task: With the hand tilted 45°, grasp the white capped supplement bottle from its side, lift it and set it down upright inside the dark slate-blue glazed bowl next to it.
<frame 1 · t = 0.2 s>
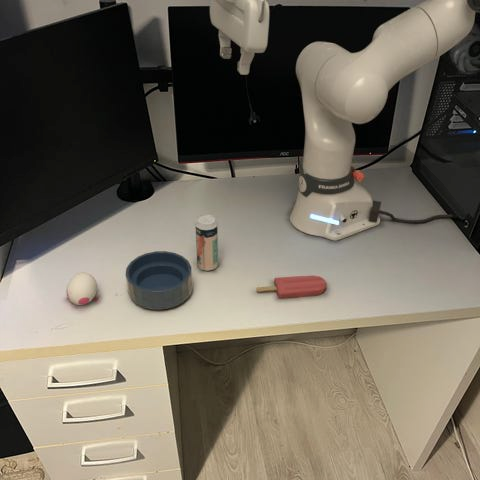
hand: (233, 65, 96), 39 cm above the table, tool pointing down, fingers open, 8 cm apart
stress ball: (81, 300, 106), on the table
bowl: (161, 291, 108), on the table
popsicle: (291, 290, 110), on the table
white capped supplement bottle: (207, 266, 115), on the table
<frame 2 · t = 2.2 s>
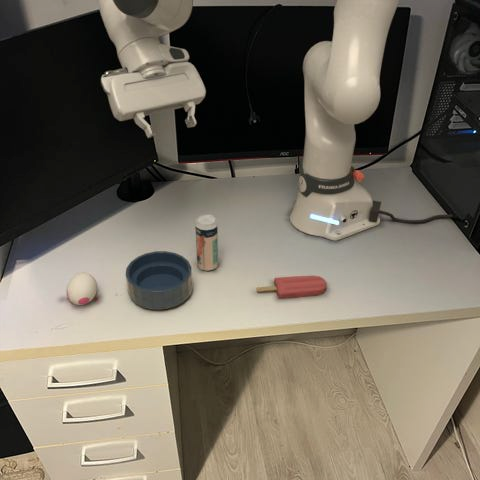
hand: (173, 131, 104), 26 cm above the table, tool tilted 45°, fingers open, 8 cm apart
nothing on the table moved.
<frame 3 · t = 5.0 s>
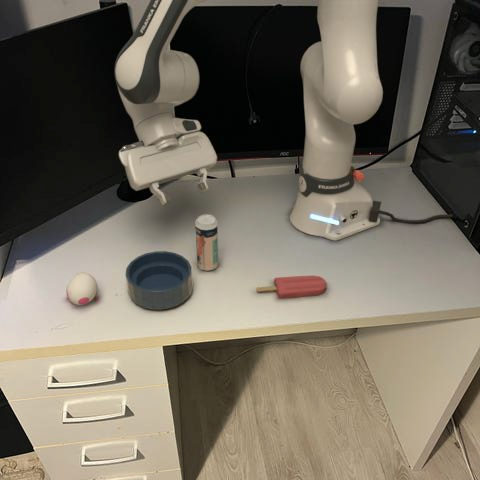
hand: (186, 197, 111), 13 cm above the table, tool tilted 45°, fingers open, 8 cm apart
nothing on the table moved.
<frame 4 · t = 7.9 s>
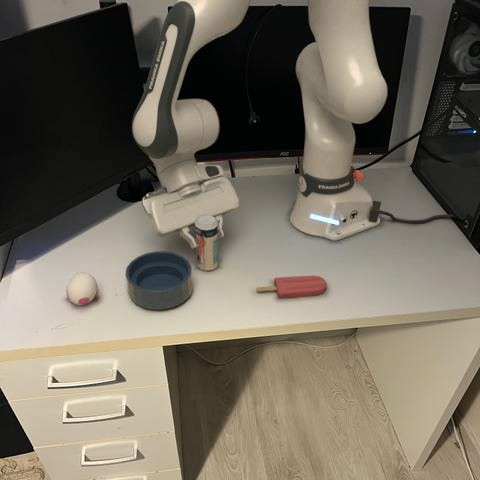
hand: (208, 242, 110), 7 cm above the table, tool tilted 45°, fingers closed on white capped supplement bottle, 5 cm apart
white capped supplement bottle: (207, 266, 115), on the table, touching gripper
everything else where it was.
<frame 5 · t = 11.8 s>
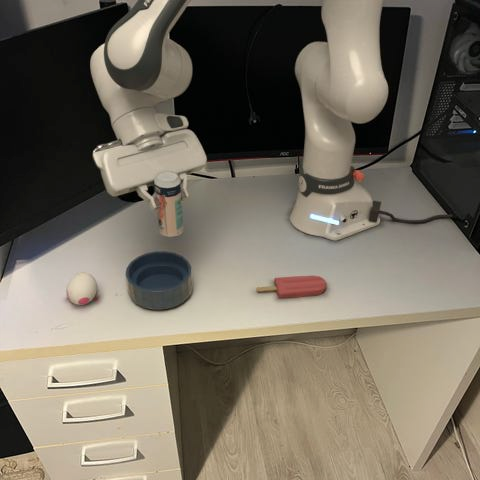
hand: (171, 203, 97), 19 cm above the table, tool tilted 45°, fingers closed on white capped supplement bottle, 5 cm apart
white capped supplement bottle: (171, 232, 102), point 13 cm above the table, touching gripper
everything else where it was.
when the fingers open (7 cm above the table, at t = 16.1 s): white capped supplement bottle stays where it is, resting on bowl.
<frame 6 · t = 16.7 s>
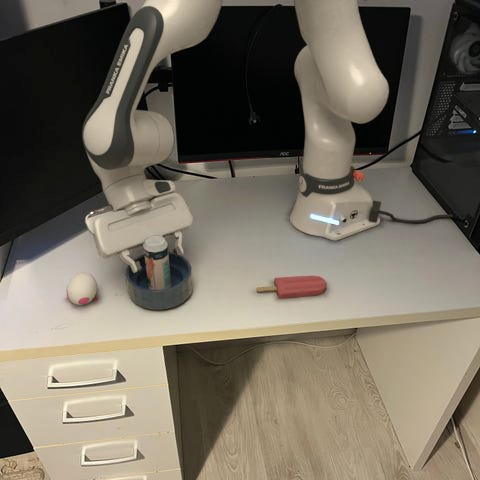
hand: (159, 263, 103), 8 cm above the table, tool tilted 45°, fingers open, 8 cm apart
white capped supplement bottle: (160, 288, 108), point 1 cm above the table, touching bowl
everything else where it was.
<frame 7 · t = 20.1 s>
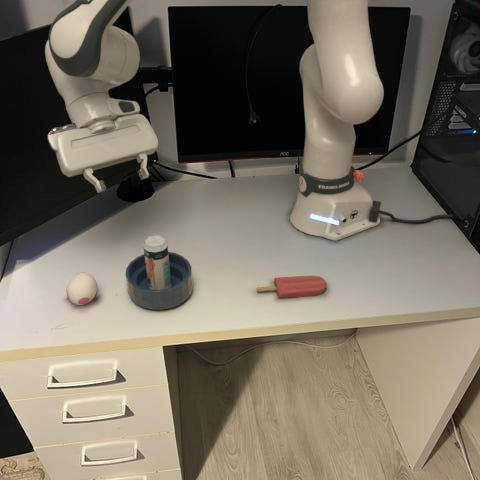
hand: (124, 184, 103), 19 cm above the table, tool tilted 45°, fingers open, 8 cm apart
nothing on the table moved.
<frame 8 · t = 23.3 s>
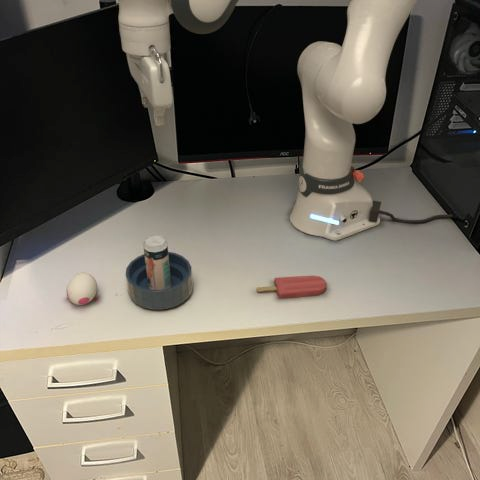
hand: (153, 115, 103), 29 cm above the table, tool pointing down, fingers open, 8 cm apart
nothing on the table moved.
at the end: white capped supplement bottle inside the target area in the bowl (0.1 cm from its centre), point 0.6 cm above the bowl's base; white capped supplement bottle tilted 0°; the gripper is holding nothing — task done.
